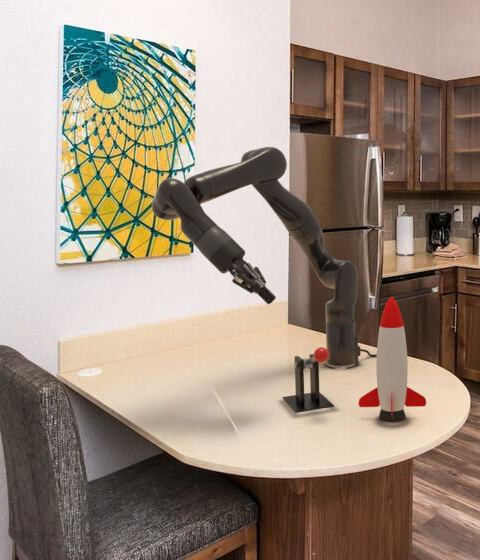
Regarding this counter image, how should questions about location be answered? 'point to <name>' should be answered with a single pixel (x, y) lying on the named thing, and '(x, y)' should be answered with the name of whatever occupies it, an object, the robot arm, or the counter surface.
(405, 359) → the toy rocket
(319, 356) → the lever
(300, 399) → the bracket
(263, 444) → the counter surface
